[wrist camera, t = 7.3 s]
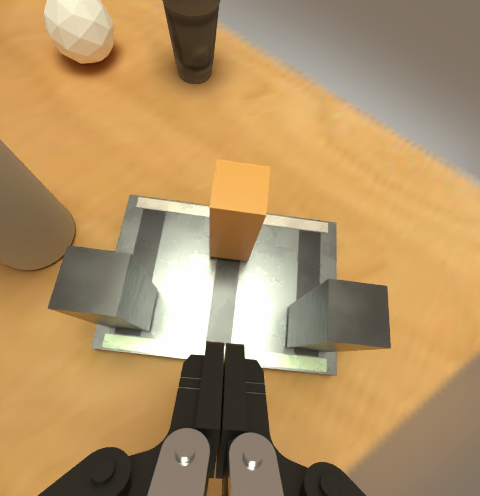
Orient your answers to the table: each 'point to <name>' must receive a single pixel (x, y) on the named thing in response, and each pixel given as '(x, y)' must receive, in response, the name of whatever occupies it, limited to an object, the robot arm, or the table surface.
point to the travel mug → (29, 218)
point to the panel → (221, 291)
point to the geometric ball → (80, 29)
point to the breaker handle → (237, 208)
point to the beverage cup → (193, 36)
